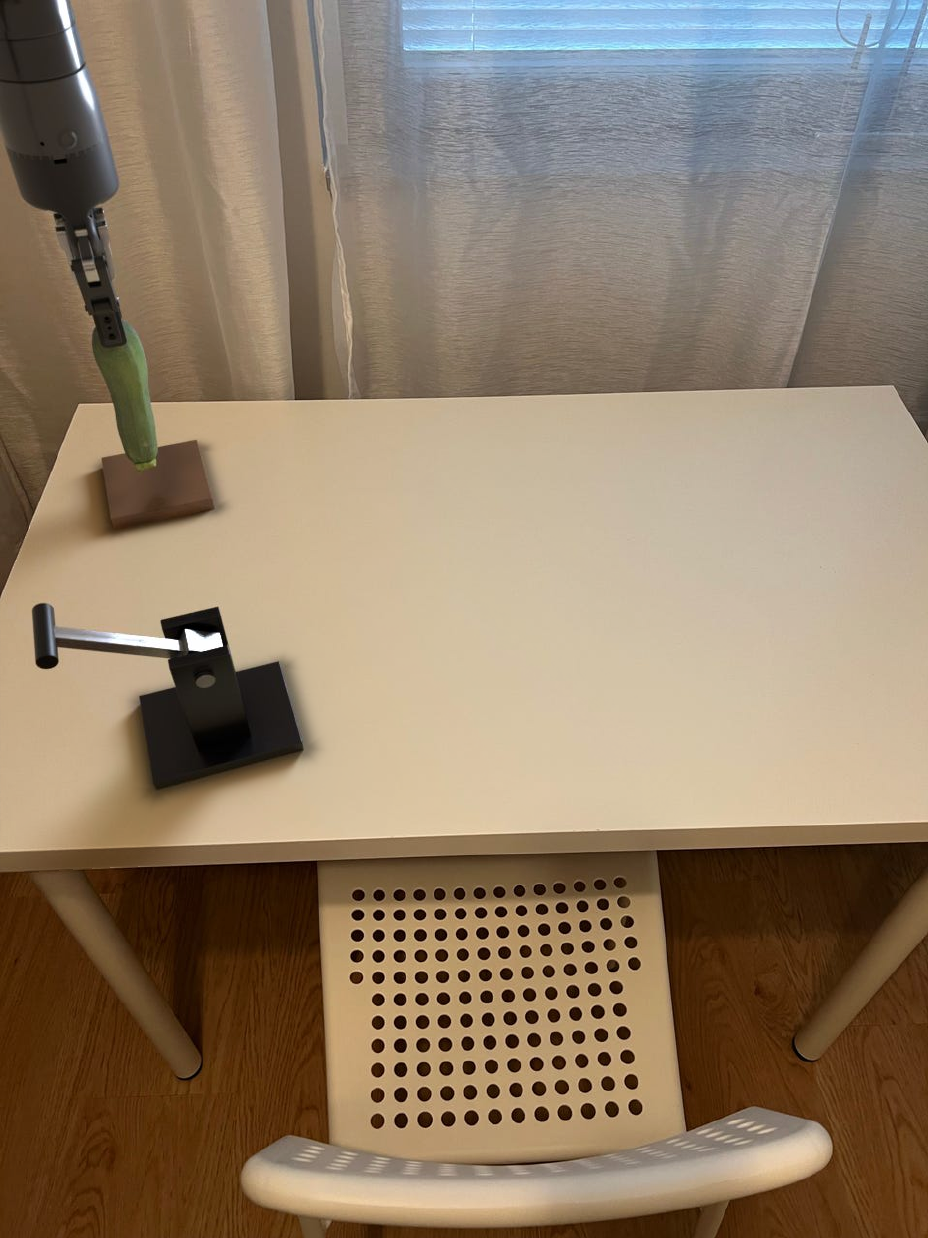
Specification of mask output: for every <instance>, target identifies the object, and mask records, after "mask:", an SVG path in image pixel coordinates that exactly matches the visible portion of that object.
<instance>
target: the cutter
mask: <svg viewBox="0 0 928 1238" xmlns="http://www.w3.org/2000/svg"><path fill="white" fill-rule="evenodd" d="M160 626H161V631H162V634H163V636H164V639H173V640H179V639H180V637H181V635H182V633H183V631H184V629H189V630H198V631H206V632H214V633H220V637H221V641H222V645H223V646H221V647H217V648H213V649H208V650H204V651H200V652H196V653H192V654H188V655H184V656H180V657H175V658H171V659H169V658H167V664H168V669H169V673H170V674H171V678H172V681H173V684H174V686H173V687H169V688H166V689H165V688H164V689H161V690H157V691H153V692H149V693H145V694H141V695H139V696H138V699H139V705H140V711H141V719H142V725H143V731H144V737H145V743H146V751H147V756H148V763H149V768H150V775H151V776H150V777H151V781H152V785H153V787H154V791H160V790H163V789H168V788H171V787H173V786H177V785H178V786H179V785H182V784H185V783H190V782H193V781H195V780H196V781H197V780H200V779H203V778H206V777H210V776H214V775H218V774H221V773H226V772H228V771H232V770H236V769H241V768H243V767H246V766H251V765H254V764H259V763H261V762H265V761H268V760H273V759H276V758H279V757H283V756H288V755H291V754H294V753H298V752H302V751H305V748H304V741H303V739H302V736H301V732H300V729H299V724H298V721H297V717H296V714H295V711H294V706H293V703H292V700H291V697H290V694H289V693H290V692H289V690H288V686H287V682H286V679H285V675H284V672H283V668H282V665H281V662H280V661H279V660H277V661H274V662H269V663H266V664H262V665H257V666H254V667H249V668H245V669H241V670H238V671H236V667H235V663H234V660H233V655H232V651H231V648H230V644H229V641H228V636H227V633H226V629H225V626H224V622H223V617H222V613H221V610H220V607H219V606H214V607H210V608H207V609H206V608H205V609H200V610H197V611H193V612H189V613H184V614H179V615H175V616H171V617H167V618H163V619H160Z"/></svg>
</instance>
